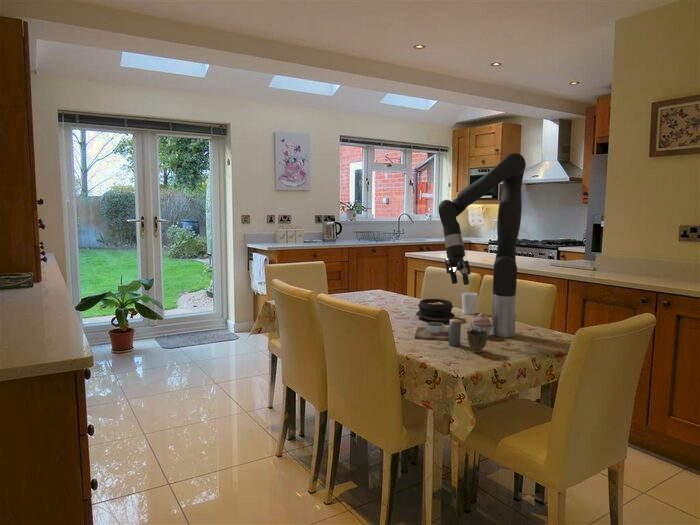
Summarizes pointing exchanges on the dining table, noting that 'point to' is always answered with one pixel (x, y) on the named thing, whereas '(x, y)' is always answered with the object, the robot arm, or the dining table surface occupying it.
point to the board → (423, 335)
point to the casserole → (435, 309)
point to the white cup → (469, 303)
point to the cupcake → (481, 323)
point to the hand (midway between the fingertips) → (460, 284)
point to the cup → (477, 340)
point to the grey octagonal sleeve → (435, 328)
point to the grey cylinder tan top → (454, 332)
